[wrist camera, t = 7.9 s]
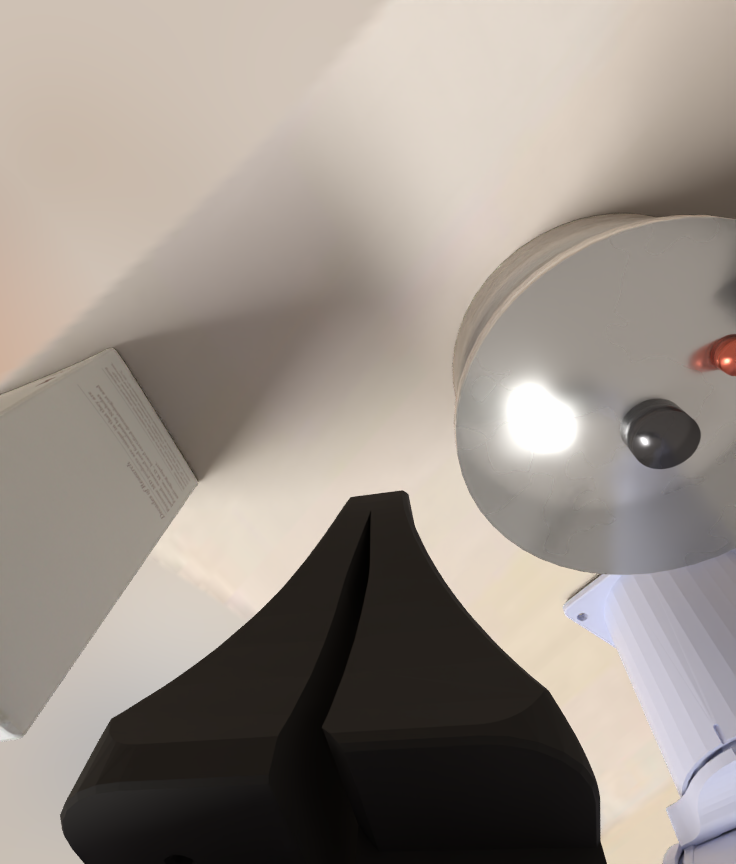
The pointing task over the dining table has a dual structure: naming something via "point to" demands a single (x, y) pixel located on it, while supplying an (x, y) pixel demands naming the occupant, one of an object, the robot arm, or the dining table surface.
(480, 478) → the lid
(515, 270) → the pot
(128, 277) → the dining table surface
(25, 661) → the supplement box
